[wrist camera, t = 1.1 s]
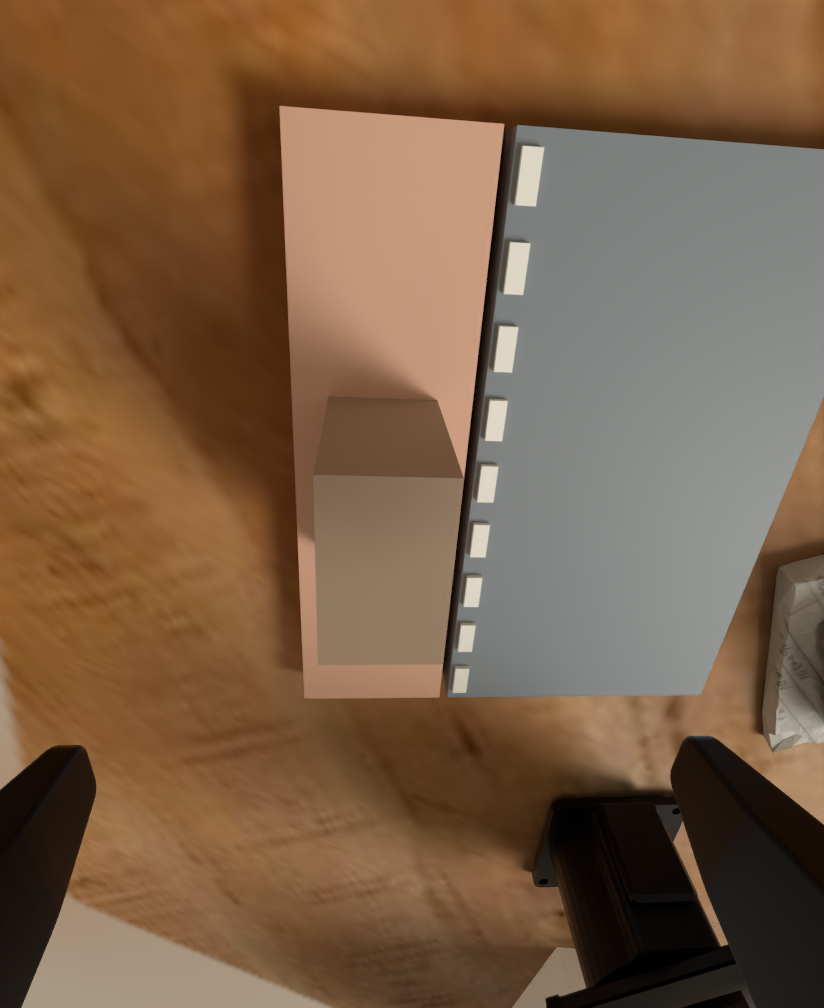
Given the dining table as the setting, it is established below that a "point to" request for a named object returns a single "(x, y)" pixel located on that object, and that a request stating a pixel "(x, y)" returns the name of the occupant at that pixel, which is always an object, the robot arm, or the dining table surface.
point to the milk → (553, 979)
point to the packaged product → (796, 657)
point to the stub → (382, 382)
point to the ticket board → (632, 407)
